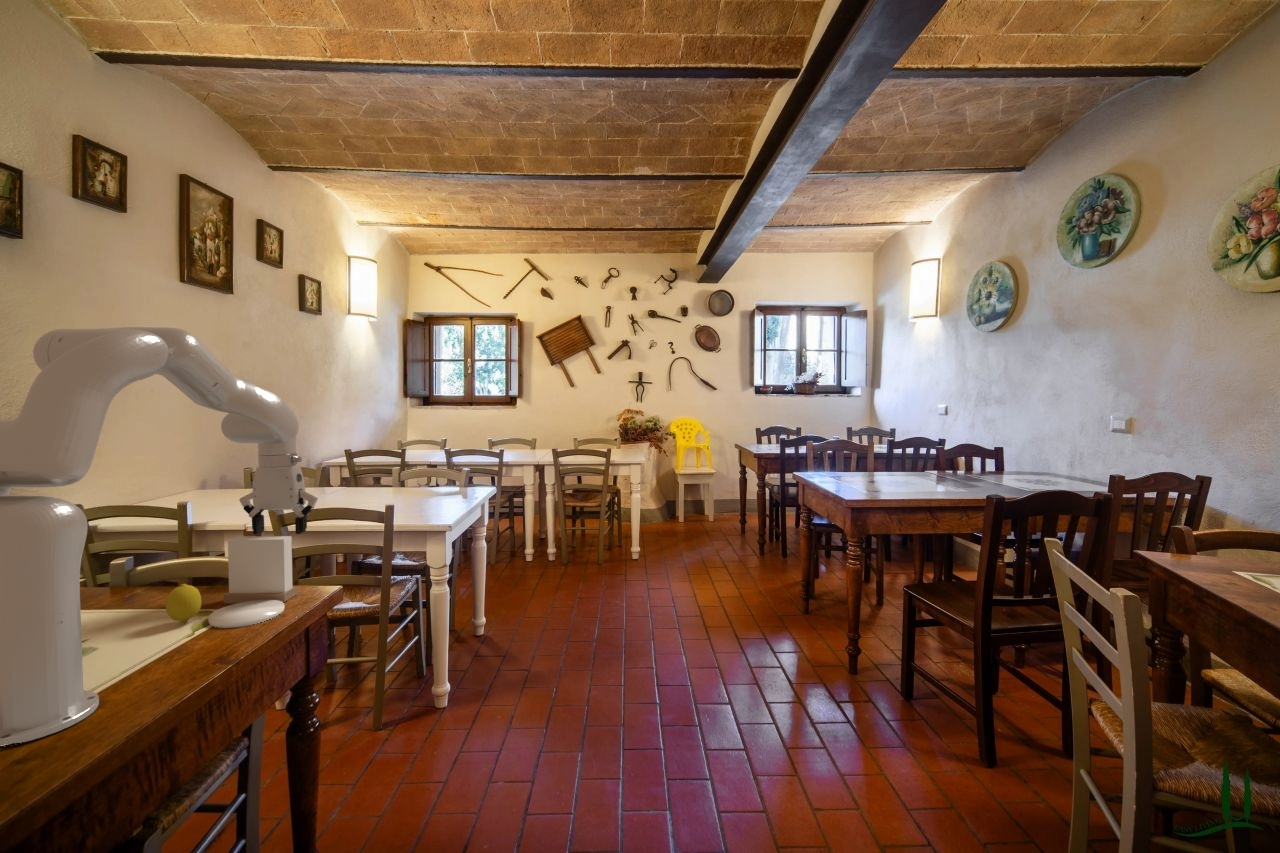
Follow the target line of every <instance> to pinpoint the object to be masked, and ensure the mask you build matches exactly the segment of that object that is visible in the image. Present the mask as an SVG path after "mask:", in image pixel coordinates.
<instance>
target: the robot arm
mask: <svg viewBox="0 0 1280 853" xmlns="http://www.w3.org/2000/svg"><path fill="white" fill-rule="evenodd" d="M32 350H33V351H32V355H33V356H32V357H33V360H34V363H35V365H36V366H37V367H38V369H39V370H41V371H40V372H39V373H38V374H37V376H36V377H35V378H34V381H32V382H33V383H32V384H31V385H30V388H29V390H28V393H27V395H26V398H25V400H24V402H23V405H22V407H21V408H20V411H19V412H18V415H17V416H16V418H15V419H13V420H5V419H4V420H0V745H4V744H12V743H20V744H23V743H26V742H32V741H34V740H37V739H41V738H44V737H47V736H49V735H53V734H55V733H57V732H60V731H62V730H65V729H67V728H69V727H71V726H74V725H76V724H77V723H79V722H81V721H83V720H84V719H86V718H88V717H89V716H90V715H92V713H94V712H95V711H96V710H97V708H98V707H99V705H100V696H99V695H98V693H96V692H95V691H94V692H93V691H90V690H84V672H83V671H84V670H83V668H84V666H83V643H82V642H83V640H82V639H83V638H82V616H81V613H82V612H81V592H80V588H81V587H80V576H81V564H82V558H83V553H84V549H85V544H86V541H87V535H88V527H89V526H88V519H87V517H86V515H85V513H84V512H83V510H82V509H81V508H80V507H78V506H77V504H74V503H73V502H71V501H69V500H65V499H63V498H59V497H52V496H46V495H45V496H43V495H42V496H41V495H10V494H11V493H12V492H11V491H12V489H13V488H57V487H65V486H70V485H73V484H76V483H78V482H80V481H81V480H82V479H83V478H84V477H85V476H86V475H87V473H88V472H89V470H90V468H91V466H92V463H93V460H94V457H95V454H96V450H97V447H98V442H99V440H100V436H101V432H102V429H103V427H104V426H103V425H104V422H105V419H106V416H107V412H108V411H109V407H110V405H111V403H112V401H113V400H114V398H115V397H116V395H117V394H118V393H120V392H121V391H122V390H124V389H125V388H126V387H127V386H129V385H131V384H134V383H135V382H138V381H142V380H146V379H148V378H151V377H153V376H154V375H159V376H161V377H164V378H165V379H166V380H167V381H169V383H171V384H172V385H173V386H174V387H176V388H177V389H178V390H179V391H180V392H181V393H183V394H184V395H185V396H186V397H187V398H189V399H190V400H191V401H192V402H193V403H195V404H196V405H198V406H201V407H203V408H206V409H210V410H213V411H217V412H221V413H226V415H225V416H224V417H223V419H222V421H221V424H220V428H221V432H222V434H223V436H224V437H225V438H226V439H227V440H229V441H231V442H234V443H239V444H257V454H258V455H257V456H258V459H257V460H258V467H256V468H255V471H254V475H253V482H252V492H249V494H246V495H244V496H242V497H240V498H239V503H240V505H241V506H242V507H243V510H244V511H245V513H247V514H248V517H249V518H251V529H252V534H253V535H258V534H260V533H263V532H264V531H265V515H264V514H263V512H264V511H266V510H267V511H278V510H279V511H280V510H281V511H285V510H287V511H288V510H289V511H290V510H291V511H292V512H293V513H294V514H295V515H296V517H295V519H294V520H295V522H294V523H295V526H294V527H295V534H296V535H301V534H302V533H305V532H306V531H307V527H308V522H307V521H308V520H307V518H308V517H307V516H309V514H310V513H311V512H312V511H313V509H315V506H316V504H317V502H318V500H319V499H318V497H317V496H315V495H313V494H311V493H309V492H307V491H306V485H305V479H304V476H303V475H304V474H303V471H302V468H301V466H300V465H298V464H299V463H301V462H302V460H303V458H302V457H301V456H298V454H297V442H296V441H297V438H296V436H297V435H298V432H299V421H298V418H297V416H296V414H295V412H294V411H293V410H292V409H291V407H290V406H289V405H288V404H287V403H286V402H285V401H284V400H283V398H281V397H280V396H278V395H277V394H276V393H275V392H272V391H270V390H268V389H266V388H265V387H262V386H259V385H258V384H255V383H254V382H252V381H249V380H248V379H245V378H242V377H239V376H237V375H235V374H233V372H231V371H230V369H228V367H227V366H226V365H224V364H223V363H222V362H221V361H220V360H219V359H218V358H217V356H215V355H214V353H213V352H212V351H211V350H209V348H208V347H206V345H205V344H203V343H202V341H201V340H200V339H198V338H197V337H196V336H195V335H194V334H193V333H191V332H189V331H187V330H184V329H181V328H177V327H160V326H159V327H158V326H157V327H154V326H153V327H150V326H149V327H144V326H142V327H140V326H127V327H124V326H123V327H109V328H107V327H106V328H105V327H103V328H57V329H54V330H51V331H50V330H49V331H48V332H46V333H44V334H43V335H41V336H40V337H39V338H38V339H37V341H36V342H35V345H34V346H33V349H32ZM251 500H252V504H251ZM306 502H307V505H306ZM305 505H306V506H305ZM22 742H23V743H22Z"/></svg>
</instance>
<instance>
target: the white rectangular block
mask: <svg viewBox="0 0 1280 853" xmlns="http://www.w3.org/2000/svg"><path fill="white" fill-rule="evenodd" d="M292 540H293V539H292V536H291V535H289V536H288V535H287V536H286V535H268V536H267V535H262V536H261V535H259V536H256V535H249V536H248V535H244V536H243V535H241V536H239V535H238V536H233V537H231V538H228V539H227V554H228V555H227V557H228V558H227V561H228V562H227V564H228V592H226V593H224V594H223V604H237V603H241V602H246V601H253V600H278V601H282V602H285V601H286V600H288V599H289V598H291V597H293V596H295V595H297V596H298V586H293V552H292V551H293V547H292V546H293V544H292V543H293V542H292ZM295 597H296V596H295ZM285 603H286V602H285Z"/></svg>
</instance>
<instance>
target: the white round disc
mask: <svg viewBox="0 0 1280 853" xmlns="http://www.w3.org/2000/svg"><path fill="white" fill-rule="evenodd" d="M285 607H286V606H285V603H283V602H282V601H278V600H253V601H246V602H241V603H232V604H228V605H227V606H223V607H221V608H218V609H216V610H214V611H213V612H211V613H210V614H209V615H208V618H207V620H208V623H209V624H210V625H211V626H210V625H209V624H208V623H207V624H208V625H209V626H210V627H212V626H214V627H213V628H216V627H217V629H235V628H242V627H249V626H254V625H258V624H261V623H260V622H262V623H265V622H267V621H266V620H268V621H270V620H269V619H271V620H273V619H275V618H277V617H279V616H280V615H279V614H281V613H282V612H283V611H284V612H285V610H284V609H285ZM284 612H283V613H284ZM283 613H282V614H283ZM282 614H281V615H282ZM278 615H279V616H278ZM276 616H277V617H276ZM274 617H275V618H274ZM272 618H273V619H272ZM264 621H265V622H264ZM257 623H258V624H257ZM253 624H254V625H253Z"/></svg>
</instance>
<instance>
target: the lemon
mask: <svg viewBox="0 0 1280 853" xmlns="http://www.w3.org/2000/svg"><path fill="white" fill-rule="evenodd" d="M201 607H202V596H201V593H200V590H199V589H198V588H197V587H195V586H193V585H192V584H191V585H189V584H186V583H182V584H180V585H179V586H177V587H175V588H173V589H172V590H171V592H169V594H168V596H167V598H166V601H165V610H166V611H165V612H166V613H167V616H168V617H169V618H170V619H171V620H173V621H176V622H180V623H182V624H187V622H188V621H189V620H191V619H192V618H194V617H195V616H196V615H198V613H199V611H200V610H201Z"/></svg>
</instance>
